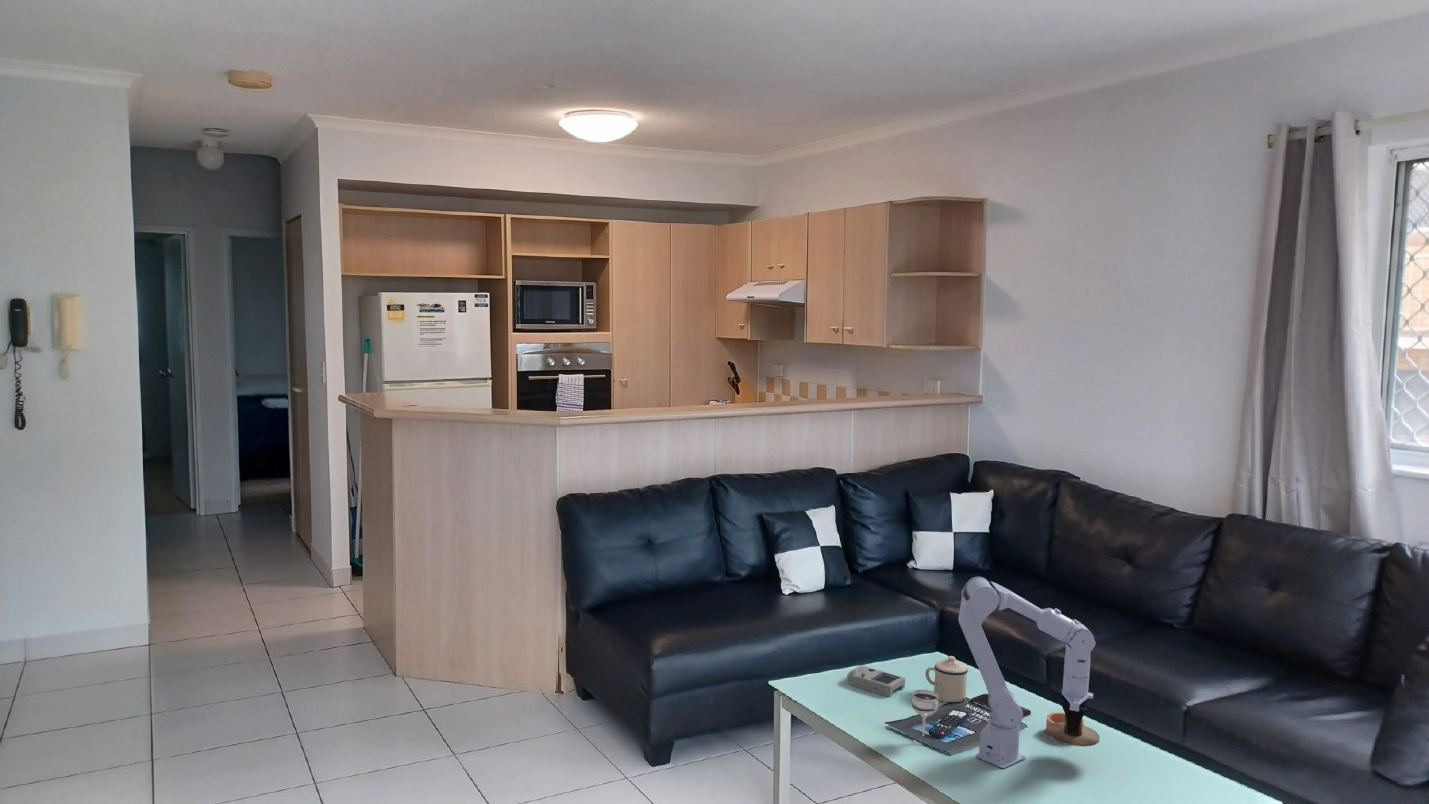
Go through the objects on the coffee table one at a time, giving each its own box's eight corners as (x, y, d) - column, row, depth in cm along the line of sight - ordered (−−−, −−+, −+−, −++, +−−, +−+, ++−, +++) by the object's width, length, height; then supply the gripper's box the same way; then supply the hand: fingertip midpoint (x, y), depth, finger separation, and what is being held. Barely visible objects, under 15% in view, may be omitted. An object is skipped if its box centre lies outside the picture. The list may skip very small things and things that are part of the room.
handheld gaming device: (860, 676, 283) (861, 664, 283) (905, 689, 274) (905, 676, 273) (844, 685, 276) (844, 672, 276) (889, 699, 267) (890, 686, 267)
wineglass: (942, 741, 240) (944, 695, 239) (927, 749, 235) (930, 702, 234) (918, 732, 245) (920, 687, 244) (904, 740, 240) (906, 694, 239)
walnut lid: (1083, 750, 223) (1084, 731, 222) (1036, 733, 232) (1037, 714, 231) (1108, 737, 230) (1110, 718, 230) (1063, 720, 239) (1064, 702, 239)
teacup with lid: (971, 696, 269) (973, 656, 268) (958, 706, 262) (960, 665, 261) (931, 685, 276) (933, 646, 275) (918, 695, 269) (919, 655, 268)
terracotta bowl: (1070, 745, 240) (1071, 730, 239) (1038, 732, 247) (1039, 717, 246) (1090, 736, 245) (1091, 721, 245) (1058, 724, 252) (1059, 709, 252)
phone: (986, 692, 270) (1032, 710, 259) (985, 696, 271) (1032, 714, 259) (968, 699, 266) (1015, 717, 254) (968, 703, 266) (1015, 722, 254)
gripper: (1094, 687, 221) (1090, 744, 223) (1094, 666, 235) (1090, 720, 236) (1062, 682, 224) (1058, 738, 225) (1063, 662, 237) (1060, 714, 239)
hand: (1072, 728), depth 231 cm, fingers closed on walnut lid, 4 cm apart
